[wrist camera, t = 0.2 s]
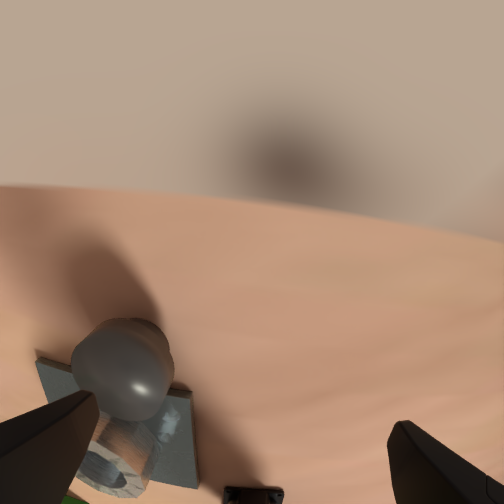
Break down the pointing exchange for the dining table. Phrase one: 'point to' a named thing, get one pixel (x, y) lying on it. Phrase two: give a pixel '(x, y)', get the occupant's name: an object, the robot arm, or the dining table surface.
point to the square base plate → (132, 441)
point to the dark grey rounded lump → (125, 367)
